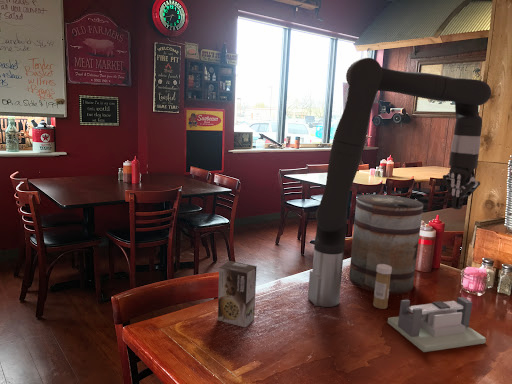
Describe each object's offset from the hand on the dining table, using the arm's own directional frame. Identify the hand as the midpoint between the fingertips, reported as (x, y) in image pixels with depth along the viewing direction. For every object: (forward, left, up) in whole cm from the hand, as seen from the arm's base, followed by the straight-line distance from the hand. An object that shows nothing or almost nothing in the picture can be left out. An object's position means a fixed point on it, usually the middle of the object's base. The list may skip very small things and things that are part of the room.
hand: (456, 208), depth 129 cm
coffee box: (-65, +8, -33) cm, 73 cm away
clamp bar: (-13, -11, -26) cm, 31 cm away
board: (-12, -11, -33) cm, 37 cm away
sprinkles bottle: (-18, +7, -33) cm, 38 cm away
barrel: (-6, +25, -33) cm, 42 cm away
